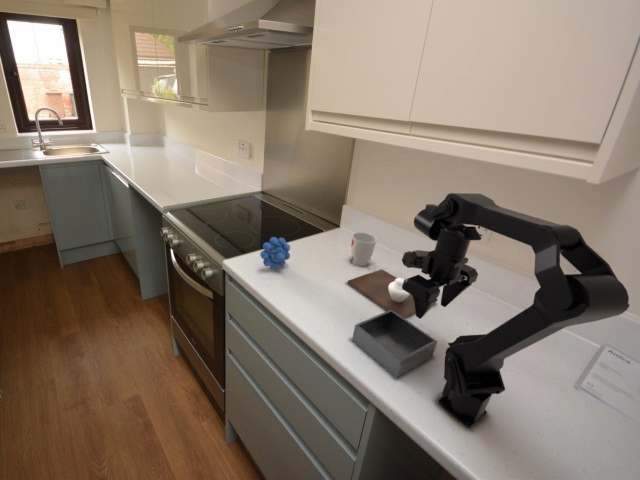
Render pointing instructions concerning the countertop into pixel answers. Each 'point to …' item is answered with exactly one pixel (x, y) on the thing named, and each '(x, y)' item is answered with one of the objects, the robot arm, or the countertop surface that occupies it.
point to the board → (382, 292)
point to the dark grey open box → (394, 342)
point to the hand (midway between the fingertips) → (431, 311)
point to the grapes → (275, 252)
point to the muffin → (397, 290)
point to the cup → (362, 248)
